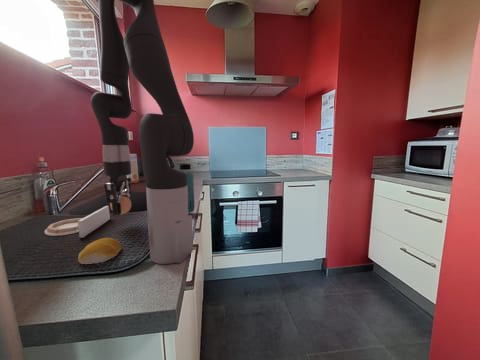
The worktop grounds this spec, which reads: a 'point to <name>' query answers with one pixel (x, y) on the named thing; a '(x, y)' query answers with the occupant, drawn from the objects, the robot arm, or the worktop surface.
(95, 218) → the wall
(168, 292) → the worktop surface
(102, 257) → the bread roll
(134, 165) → the cracker box
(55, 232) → the saucer
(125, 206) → the ball
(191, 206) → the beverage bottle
